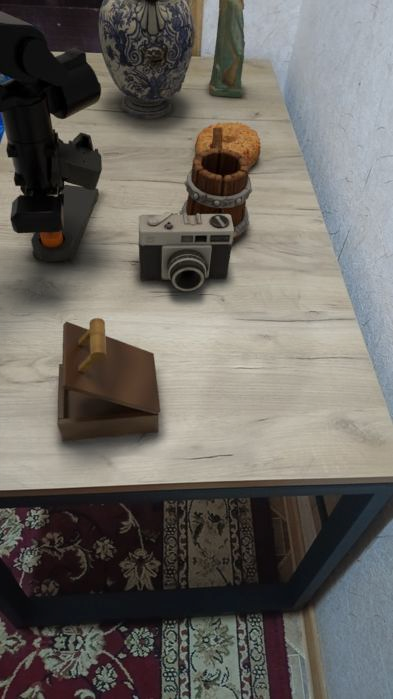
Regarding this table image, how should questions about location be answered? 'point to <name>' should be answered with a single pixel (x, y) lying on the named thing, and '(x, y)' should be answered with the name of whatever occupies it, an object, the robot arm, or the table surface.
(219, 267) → the camera
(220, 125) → the bagel
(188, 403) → the table surface
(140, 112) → the decorative vase
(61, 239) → the button
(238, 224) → the mug
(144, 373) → the lid
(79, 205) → the block
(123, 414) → the chest
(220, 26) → the statue
